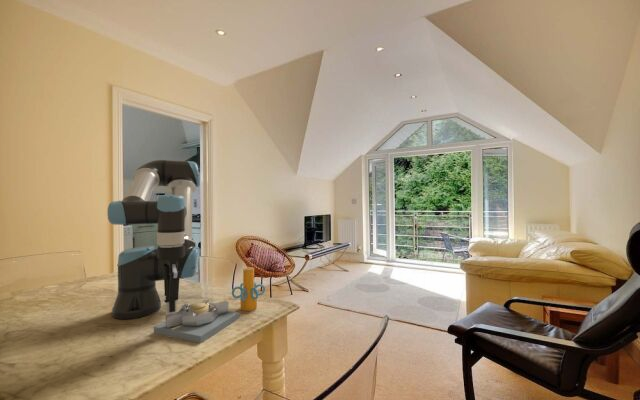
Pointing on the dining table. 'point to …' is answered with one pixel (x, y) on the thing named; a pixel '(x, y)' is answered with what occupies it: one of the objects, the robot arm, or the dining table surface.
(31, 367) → the dining table surface
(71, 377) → the dining table surface
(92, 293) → the dining table surface
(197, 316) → the grey curved saddle piece
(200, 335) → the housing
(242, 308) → the orange post with rings
